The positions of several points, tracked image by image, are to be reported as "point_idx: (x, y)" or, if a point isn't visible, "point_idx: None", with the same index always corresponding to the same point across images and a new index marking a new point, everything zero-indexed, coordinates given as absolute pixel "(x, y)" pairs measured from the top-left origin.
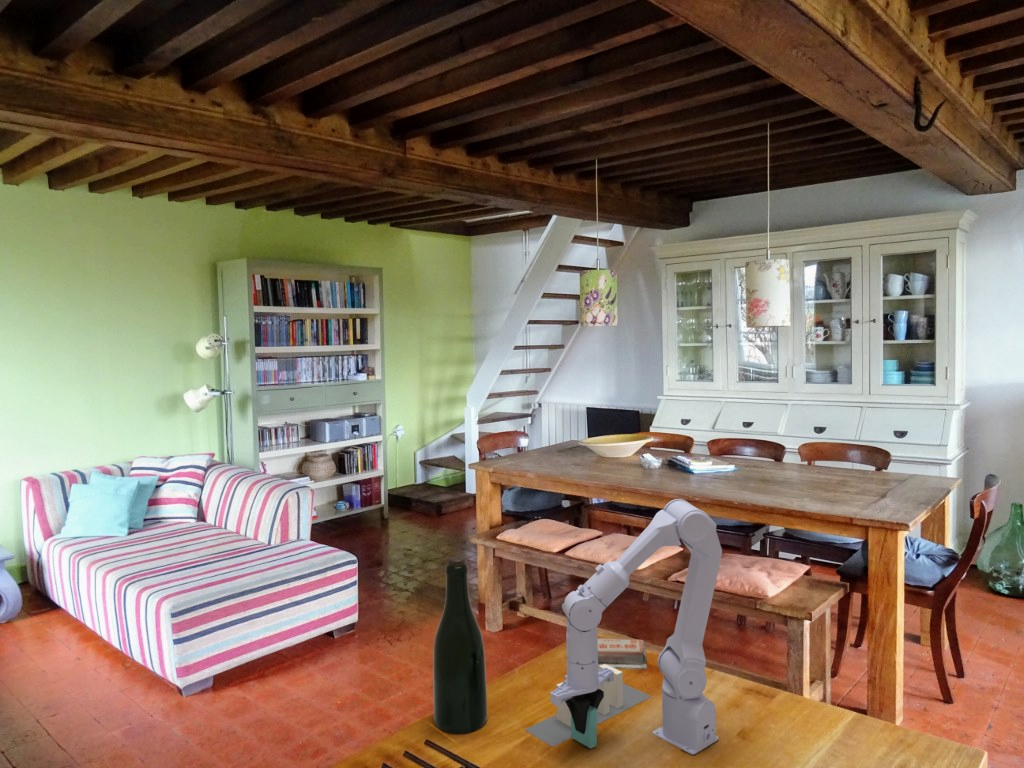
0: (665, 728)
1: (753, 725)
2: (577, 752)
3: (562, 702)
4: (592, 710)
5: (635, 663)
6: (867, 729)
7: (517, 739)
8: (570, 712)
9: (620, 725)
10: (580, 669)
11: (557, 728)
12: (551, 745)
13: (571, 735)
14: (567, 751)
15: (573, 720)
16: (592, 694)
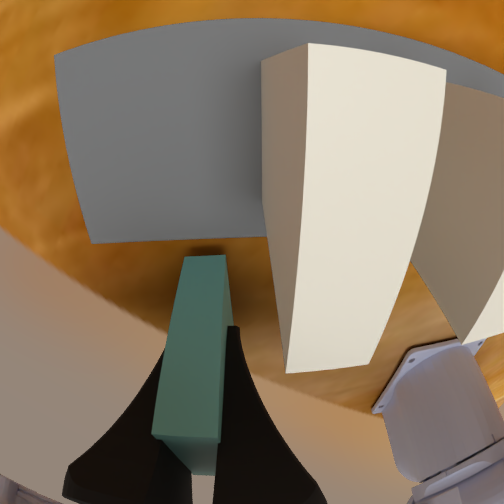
0: (410, 392)
1: (491, 377)
2: (166, 301)
3: (274, 136)
4: (208, 474)
5: None
6: (498, 404)
7: (14, 100)
8: (136, 395)
9: (418, 274)
10: None
11: (195, 134)
12: (91, 232)
13: (183, 265)
14: (137, 278)
15: (159, 361)
16: None
